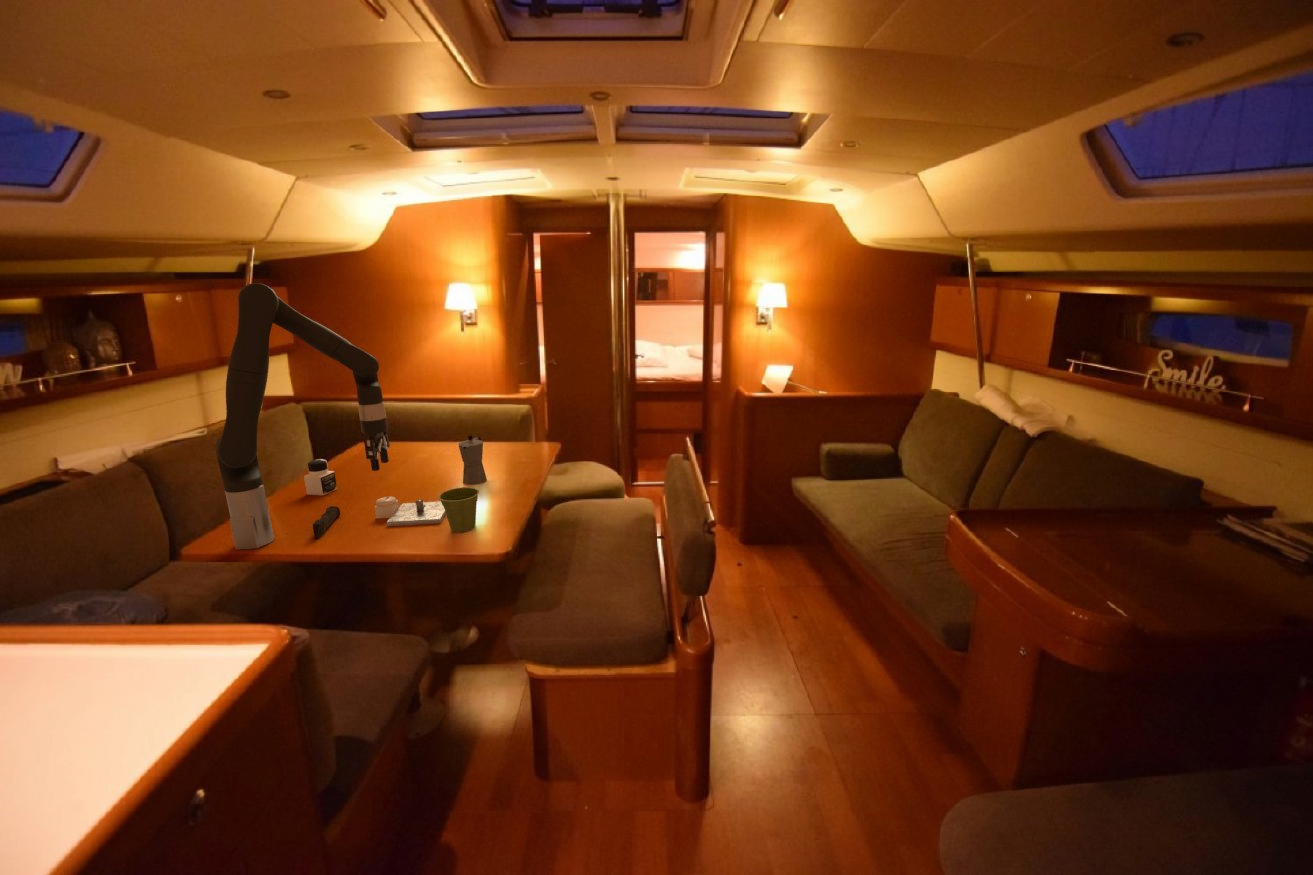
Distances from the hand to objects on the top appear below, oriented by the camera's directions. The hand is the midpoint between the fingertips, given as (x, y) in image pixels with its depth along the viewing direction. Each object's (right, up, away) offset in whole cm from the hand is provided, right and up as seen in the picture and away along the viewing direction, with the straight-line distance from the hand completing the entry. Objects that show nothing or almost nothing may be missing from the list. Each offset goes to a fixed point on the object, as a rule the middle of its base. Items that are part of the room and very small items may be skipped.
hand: (380, 466), depth 190 cm
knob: (+1, -16, +4) cm, 16 cm away
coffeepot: (+19, -7, +37) cm, 42 cm away
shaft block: (+12, -16, +3) cm, 20 cm away
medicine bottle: (-34, -11, +27) cm, 44 cm away
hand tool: (-14, -19, -5) cm, 24 cm away
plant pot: (+29, -19, -8) cm, 36 cm away
